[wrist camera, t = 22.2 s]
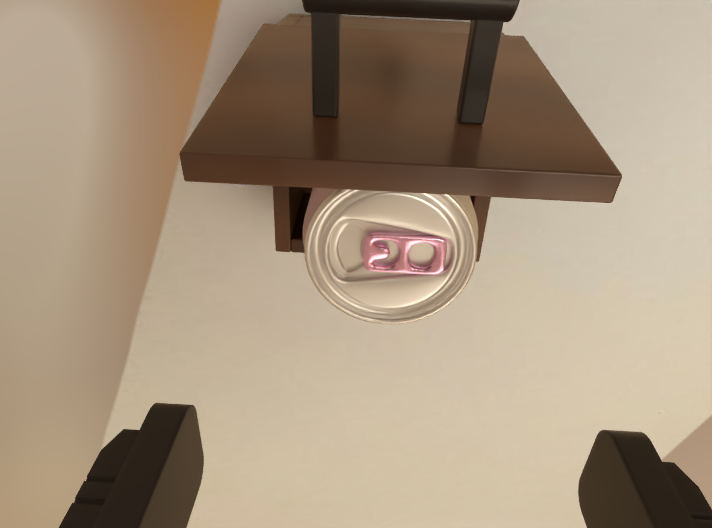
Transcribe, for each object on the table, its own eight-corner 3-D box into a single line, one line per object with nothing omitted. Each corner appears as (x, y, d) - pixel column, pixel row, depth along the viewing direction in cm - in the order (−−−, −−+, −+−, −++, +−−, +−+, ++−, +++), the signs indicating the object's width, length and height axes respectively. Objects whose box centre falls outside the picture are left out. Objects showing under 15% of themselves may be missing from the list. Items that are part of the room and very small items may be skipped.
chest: (461, 206, 33) (479, 262, 28) (293, 198, 34) (275, 251, 28) (490, 23, 28) (519, 44, 22) (289, 13, 28) (265, 32, 22)
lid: (612, 204, 13) (707, -36, 10) (183, 182, 13) (136, -62, 10) (520, 55, 22) (553, -96, 19) (264, 43, 22) (253, -109, 19)
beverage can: (432, 174, 32) (468, 334, 19) (331, 169, 32) (299, 324, 19) (445, 69, 28) (499, 174, 16) (333, 64, 28) (296, 163, 16)
